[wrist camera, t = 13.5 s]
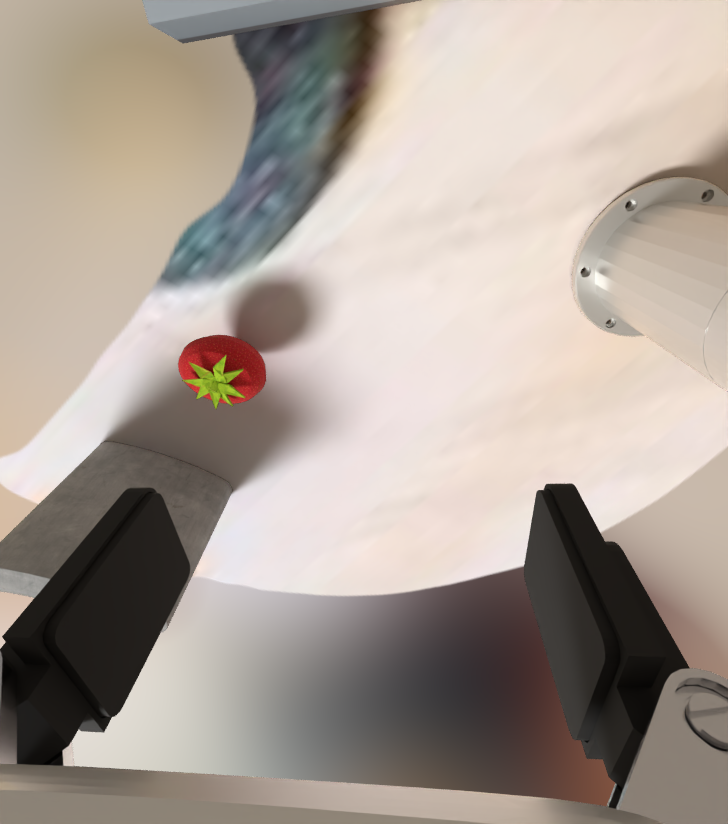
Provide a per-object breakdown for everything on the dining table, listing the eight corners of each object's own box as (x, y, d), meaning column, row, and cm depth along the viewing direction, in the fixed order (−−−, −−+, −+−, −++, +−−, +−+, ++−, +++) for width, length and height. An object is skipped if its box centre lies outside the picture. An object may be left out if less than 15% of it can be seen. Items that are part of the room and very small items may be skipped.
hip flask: (97, 457, 50) (-55, 612, 33) (100, 431, 48) (-60, 581, 31) (229, 501, 53) (150, 666, 35) (236, 477, 51) (158, 640, 34)
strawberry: (205, 308, 40) (155, 348, 32) (284, 329, 41) (256, 374, 32) (201, 363, 43) (154, 413, 35) (274, 382, 44) (246, 436, 35)
